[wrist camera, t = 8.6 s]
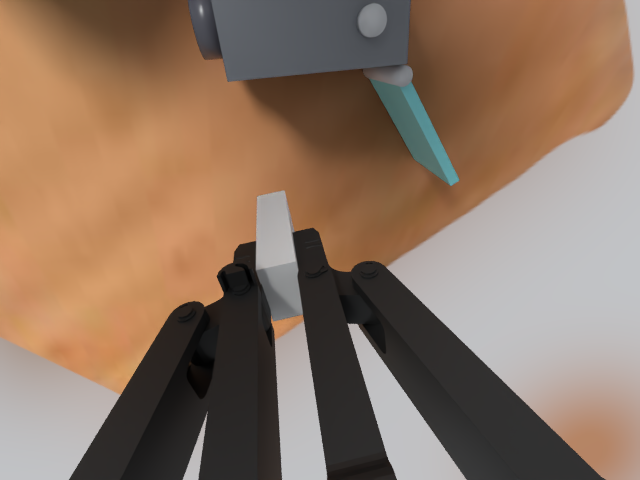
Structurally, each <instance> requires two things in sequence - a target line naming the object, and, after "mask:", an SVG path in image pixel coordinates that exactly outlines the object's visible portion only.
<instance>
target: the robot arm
mask: <svg viewBox="0 0 640 480" xmlns="http://www.w3.org/2000/svg"><path fill="white" fill-rule="evenodd" d="M217 278H218V281H219V283H220V285H221V287H222V290H223V292H224V296H223V297H222V298H221V299H220V300H218V301H216V302H214V303H212V304H210V305H208V306H206V307H204V305H203V304H202V303H200V302H195V301H193V302H188V303H185V304H183V305H180V306H179V307H178V308H176V309H175V310H174V311H173V312H172V313H171V314H170V315H169V317H168V319H167V320H166V322H165V324H164V325H163V327H162V328H161V330H160V332H159V333H158V335H157V337H156V338H155V340H154V342H153V343H152V345H151V346H150V348H149V350H148V351H147V353H146V355H145V356H144V358H143V360H142V361H141V363H140V364H139V366H138V368H137V369H136V371H135V373H134V374H133V376H132V378H131V379H130V381H129V382H128V384H127V386H126V387H125V389H124V391H123V392H122V394H121V396H120V397H119V399H118V400H117V402H116V404H115V405H114V407H113V409H112V410H111V412H110V414H109V415H108V417H107V419H106V420H105V422H104V424H103V425H102V427H101V429H100V430H99V432H98V433H97V435H96V436H95V438H94V440H93V442H92V443H91V445H90V446H89V448H88V450H87V451H86V453H85V454H84V456H83V458H82V460H81V461H80V463H79V464H78V466H77V468H76V469H75V471H74V472H73V474H72V476H71V477H70V479H69V480H183V477H184V474H185V472H186V469H187V466H188V463H189V461H190V458H191V455H192V452H193V450H194V447H195V444H196V442H197V438H198V436H199V433H200V431H201V428H202V425H203V422H204V420H205V417H206V414H207V411H208V414H207V422H206V428H205V436H204V443H203V450H202V457H201V465H200V472H199V480H282V473H281V453H280V437H279V436H280V435H279V415H278V398H277V397H278V396H277V377H276V359H275V358H276V357H275V338H274V329H273V326H272V323H271V316H272V319H273V321H277V320H281V319H286V318H290V317H294V316H299V315H303V317H304V324H305V330H306V337H307V343H308V350H309V357H310V363H311V370H312V377H313V382H314V389H315V396H316V402H317V410H318V416H319V423H320V430H321V435H322V443H323V449H324V456H325V463H326V469H327V480H397V479H396V476H395V473H394V470H393V468H392V466H391V464H390V462H389V460H388V457H387V455H386V451H385V448H384V445H383V441H382V438H381V434H380V431H379V428H378V424H377V421H376V418H375V414H374V411H373V408H372V404H371V401H370V398H369V394H368V391H367V388H366V385H365V381H364V378H363V375H362V371H361V368H360V365H359V361H358V358H357V354H356V351H355V348H354V345H353V341H352V338H351V335H350V332H349V328H348V324H347V323H349V324H358V325H359V328H360V329H361V330H362V332H363V333H364V335H365V336H366V338H367V339H368V340H369V342H370V343H371V345H372V346H373V347H374V349H375V350H376V352H377V353H378V355H379V356H380V357H381V359H382V360H383V362H384V363H385V364H386V366H387V367H388V369H389V370H390V371H391V373H392V374H393V376H394V377H395V379H396V380H397V381H398V383H399V384H400V386H401V387H402V389H403V390H404V391H405V393H406V394H407V396H408V397H409V398H410V400H411V401H412V403H413V404H414V406H415V407H416V408H417V410H418V411H419V413H420V414H421V415H422V417H423V418H424V420H425V421H426V423H427V424H428V425H429V427H430V428H431V430H432V431H433V432H434V434H435V435H436V437H437V438H438V440H439V441H440V442H441V444H442V445H443V447H444V448H445V450H446V451H447V452H448V454H449V455H450V457H451V458H452V459H453V461H454V462H455V464H456V465H457V466H458V468H459V469H460V471H461V472H462V474H463V475H464V476H465V478H466V479H467V480H605V479H604V478H602V477H601V476H600V475H599V474H598V473H597V472H596V471H594V469H592V468H591V467H590V466H589V465H588V464H587V463H586V462H585V461H584V460H583V459H582V458H581V457H580V456H579V455H578V454H577V453H576V452H575V451H574V450H573V449H572V448H571V447H570V446H569V445H568V444H567V443H566V442H565V441H563V439H562V438H561V437H560V436H559V435H558V434H556V432H554V431H553V430H552V429H551V428H550V427H549V426H548V425H547V424H546V423H545V422H544V421H543V420H542V419H541V418H540V417H539V416H538V415H537V414H536V413H535V412H534V411H533V410H532V409H531V408H530V407H529V406H528V405H527V404H526V403H525V402H524V401H523V400H522V399H521V398H520V397H519V396H517V395H516V394H515V393H514V392H513V391H512V390H511V389H510V388H509V387H508V386H507V385H506V384H505V383H504V382H503V381H502V380H501V379H500V378H499V377H498V376H497V375H496V374H495V373H494V372H493V371H492V370H491V369H490V368H488V367H487V365H486V364H485V363H484V362H483V361H482V360H480V359H479V358H478V357H477V356H476V355H475V354H474V353H473V352H472V351H471V350H470V349H469V348H468V347H467V346H466V345H465V344H464V343H463V342H462V341H461V340H460V339H459V338H458V337H457V336H456V335H455V334H454V333H453V332H452V331H451V330H450V329H449V328H448V327H447V326H446V325H445V324H443V323H442V322H441V321H440V320H439V319H438V318H437V317H436V316H435V315H434V314H433V313H432V312H431V311H430V310H429V309H428V308H427V307H426V306H425V305H424V304H423V303H422V302H421V301H420V300H419V299H418V298H417V297H416V296H415V295H413V293H412V292H411V291H410V290H409V289H408V288H407V287H405V286H404V285H403V284H402V283H401V282H400V281H399V280H398V279H397V278H396V277H395V276H394V275H393V274H392V273H391V272H390V271H389V270H388V269H387V268H386V267H385V266H384V265H382V264H381V263H379V262H375V261H365V262H361V263H359V264H357V265H355V266H354V268H353V269H352V271H351V272H341V271H337V270H334V269H332V268H331V267H330V266H329V264H328V262H327V259H326V255H325V252H324V249H323V245H322V242H321V239H320V235H319V232H317V231H316V230H315V229H314V228H310V229H305V230H301V231H296V232H294V228H293V224H292V220H291V215H290V211H289V207H288V203H287V199H286V194H285V190H284V191H279V192H274V193H270V194H265V195H260V196H257V230H256V241H254V242H249V243H245V244H240V245H239V246H238V248H237V249H236V250H235V252H234V261H233V263H231V264H228V265H227V266H225V267H223V268H222V269H221V270H220V271H219V272H218V275H217Z"/></svg>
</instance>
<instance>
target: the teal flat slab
mask: <svg viewBox="0 0 640 480" xmlns="http://www.w3.org/2000/svg"><path fill="white" fill-rule="evenodd" d="M363 74H364V76H365V77H366V78H369V79H370V81H371V83H372V84H373V86H374V88H375V90H376V92H377V93H378V95H379V97H380V99H381V101H382V102H383V104H384V106H385V108H386V110H387V111H388V113H389V115H390V117H391V119H392V120H393V122H394V124H395V126H396V128H397V129H398V131H399V133H400V135H401V137H402V138H403V140H404V142H405V144H406V145H407V147H408V149H409V151H410V153H411V154H412V156H413V158H414V160H416V161H417V162H419V163H420V164H421V165H423V166H424V167H425V168H427V169H428V170H429V171H431V172H432V173H434V174H435V175H436V176H438V177H439V178H440V179H442V180H443V181H445V182H446V183H447V184H449V185H450V186H452V185H453V184H455V183H456V182H458V181H459V178H458V176H457V174H456V172H455V170H454V168H453V166H452V164H451V162H450V160H449V158H448V156H447V154H446V151H445V149H444V147H443V145H442V143H441V141H440V139H439V137H438V135H437V133H436V131H435V129H434V127H433V125H432V123H431V121H430V119H429V117H428V115H427V113H426V111H425V109H424V107H423V105H422V103H421V100H420V98H419V96H418V94H417V92H416V90H415V88H414V86H413V84H412V82H411V80H412V77H413V72H412V69H411V68H410V67H409V66H407V65H392V66H382V67H372V68H363Z"/></svg>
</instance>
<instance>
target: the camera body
mask: <svg viewBox="0 0 640 480" xmlns="http://www.w3.org/2000/svg"><path fill="white" fill-rule="evenodd" d="M410 2H411V0H188V5H189V11H190V16H191V20H192V25H193V29H194V32H195V36H196V39H197V43H198V46H199V48H200V51H201V53H202V56H203V58H204V59H205V60H210V59H221V58H223V61H224V66H225V71H226V76H227V81H228V82H230V81H240V80H250V79H260V78H270V77H281V76H291V75H301V74H311V73H321V72H331V71H341V70H351V69H362V68H372V67H382V66H392V65H402V64H407V60H408V41H409V21H410Z"/></svg>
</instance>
